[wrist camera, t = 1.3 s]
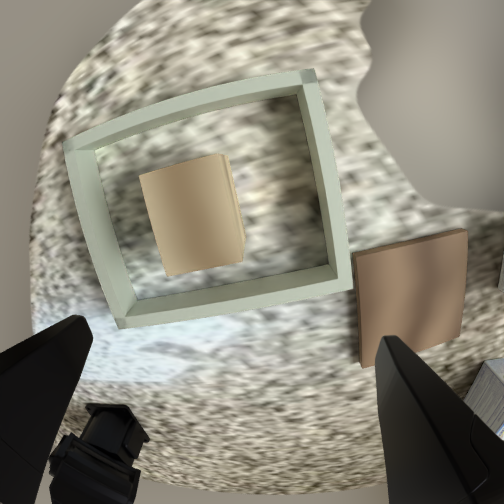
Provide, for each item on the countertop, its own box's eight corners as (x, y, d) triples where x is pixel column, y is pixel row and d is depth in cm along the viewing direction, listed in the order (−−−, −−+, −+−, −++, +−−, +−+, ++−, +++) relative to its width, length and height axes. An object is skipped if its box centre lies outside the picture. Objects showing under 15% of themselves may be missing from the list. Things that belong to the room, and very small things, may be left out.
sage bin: (131, 312, 24) (118, 329, 22) (82, 142, 20) (62, 142, 17) (342, 273, 23) (353, 288, 20) (306, 80, 19) (314, 68, 16)
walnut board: (359, 362, 26) (362, 368, 25) (352, 252, 22) (356, 257, 22) (454, 331, 25) (459, 336, 24) (461, 228, 22) (467, 230, 21)
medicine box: (478, 401, 29) (505, 440, 20) (457, 406, 29) (484, 449, 20) (503, 356, 26) (538, 393, 18) (483, 359, 26) (519, 401, 18)
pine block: (188, 247, 23) (166, 276, 17) (168, 171, 21) (138, 175, 15) (246, 235, 22) (242, 261, 17) (228, 155, 21) (217, 153, 15)
